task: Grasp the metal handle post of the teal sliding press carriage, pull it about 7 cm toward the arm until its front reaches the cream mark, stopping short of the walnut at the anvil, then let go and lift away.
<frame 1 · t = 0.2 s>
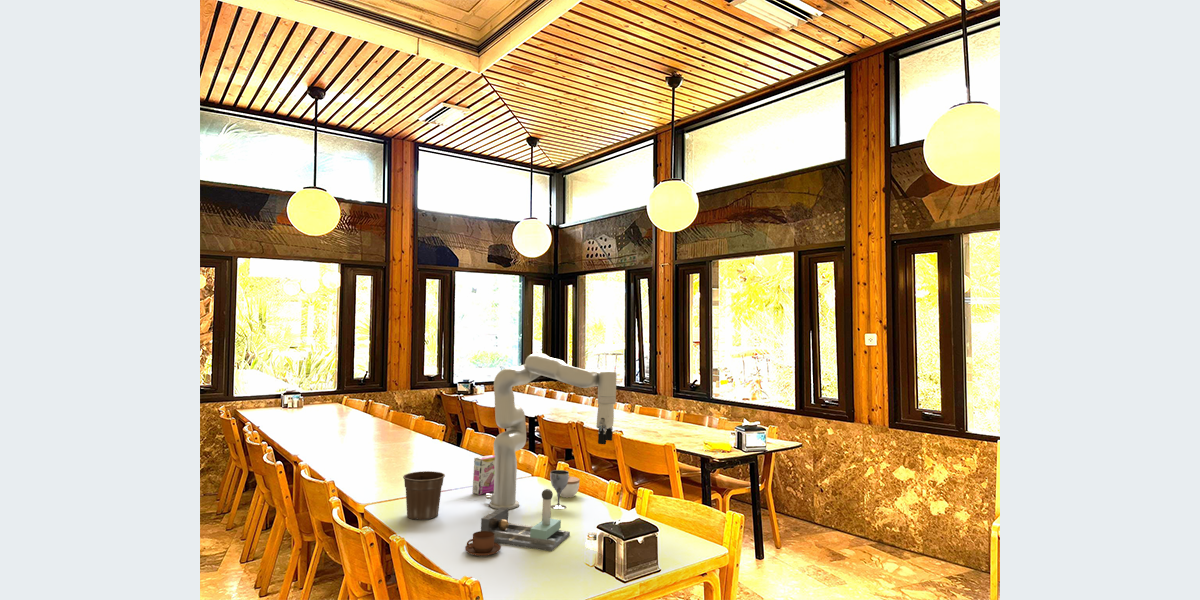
hand: (605, 442, 256), 31 cm above the table, tool pointing down, fingers open, 9 cm apart
candy bar box: (484, 492, 289), on the table
press carriage: (546, 510, 226), point 11 cm above the table, slide at 0.0 cm
press base: (525, 538, 227), on the table
plant pot: (422, 516, 250), on the table
wine glass: (558, 507, 269), on the table
lidded jar: (567, 496, 288), on the table
cup and saucer: (482, 553, 211), on the table
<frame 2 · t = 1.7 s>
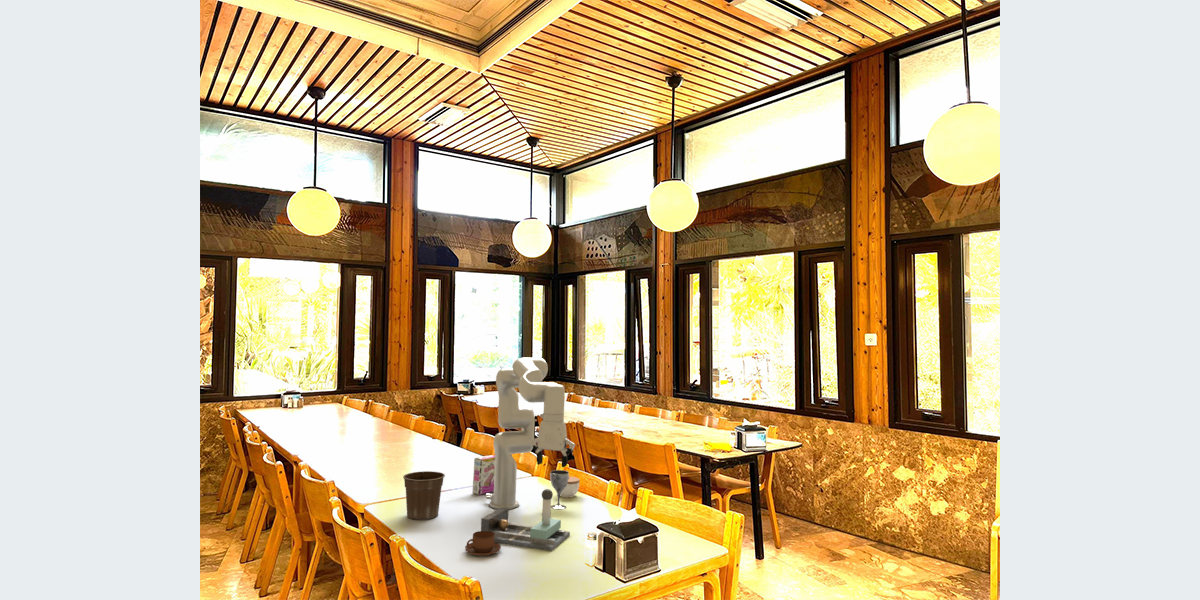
hand: (551, 465, 228), 27 cm above the table, tool pointing down, fingers open, 9 cm apart
nothing on the table moved.
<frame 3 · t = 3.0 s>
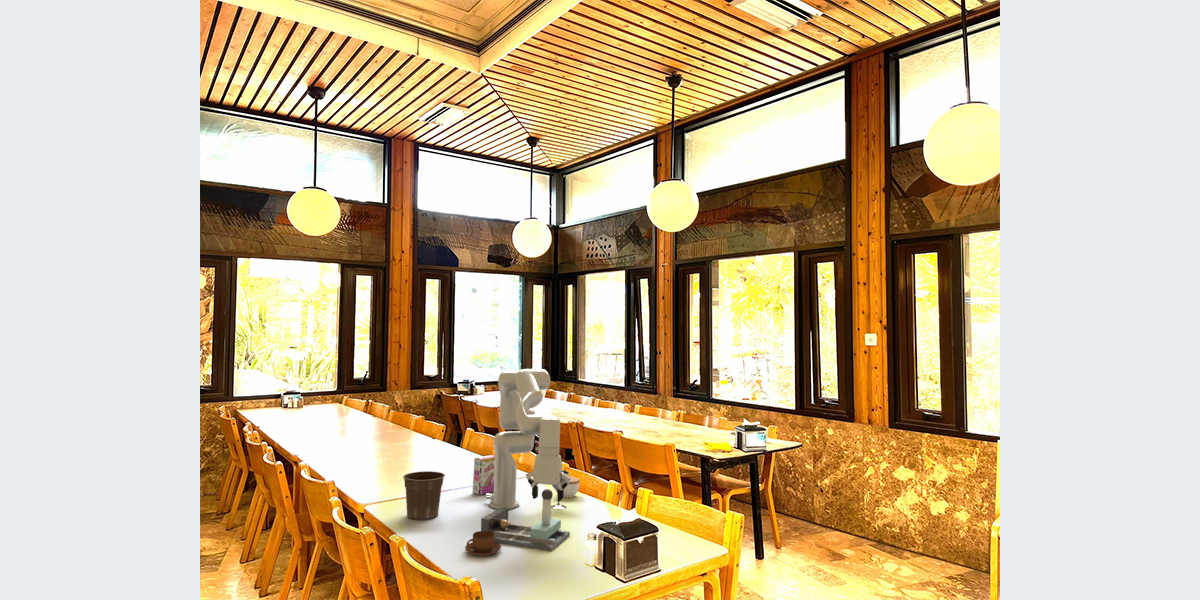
hand: (547, 499, 225), 15 cm above the table, tool pointing down, fingers open, 9 cm apart
nothing on the table moved.
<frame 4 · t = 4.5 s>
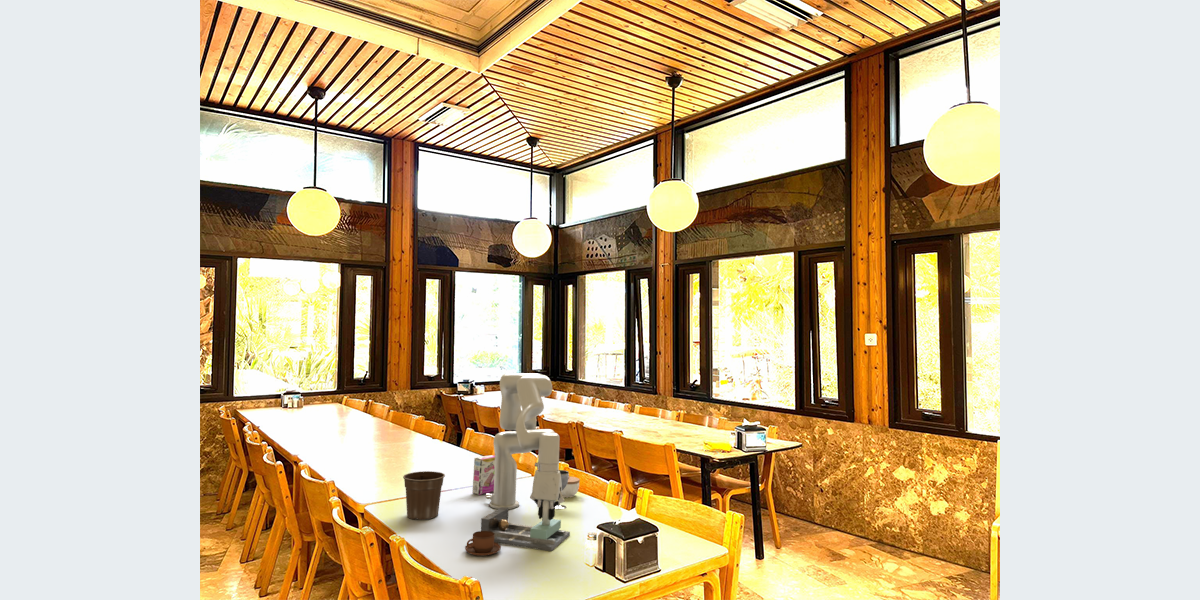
hand: (546, 518, 225), 8 cm above the table, tool pointing down, fingers closed on press carriage, 3 cm apart
press carriage: (546, 510, 226), point 11 cm above the table, slide at 0.0 cm, touching gripper
everything else where it was.
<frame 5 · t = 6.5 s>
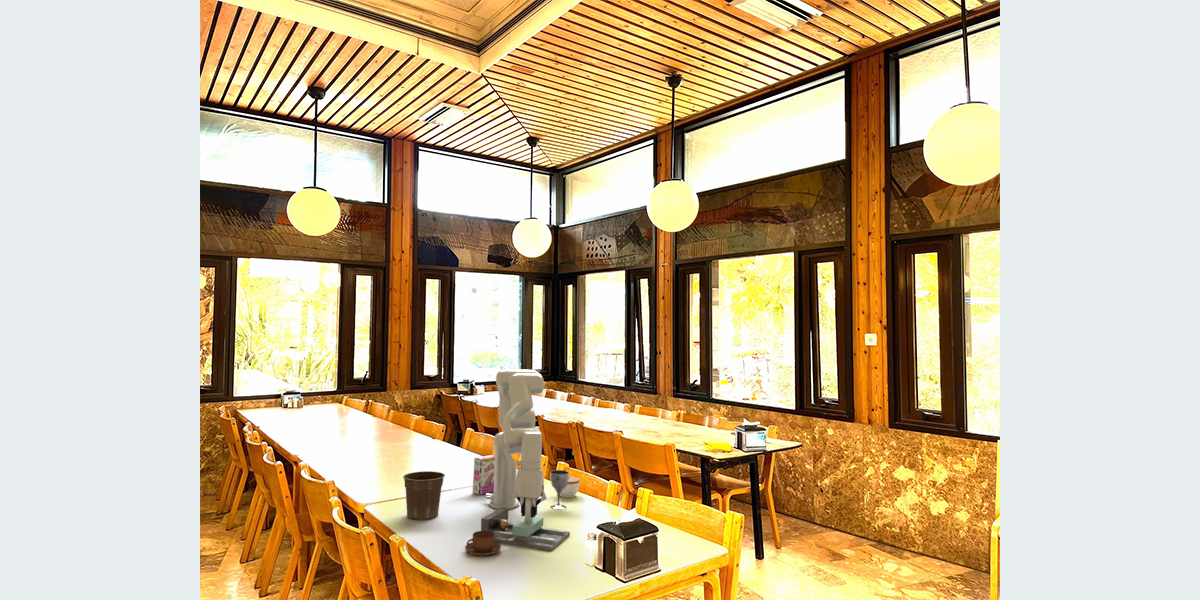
hand: (528, 515, 228), 8 cm above the table, tool pointing down, fingers closed on press carriage, 3 cm apart
press carriage: (529, 508, 228), point 11 cm above the table, slide at 6.9 cm, touching gripper
everything else where it was.
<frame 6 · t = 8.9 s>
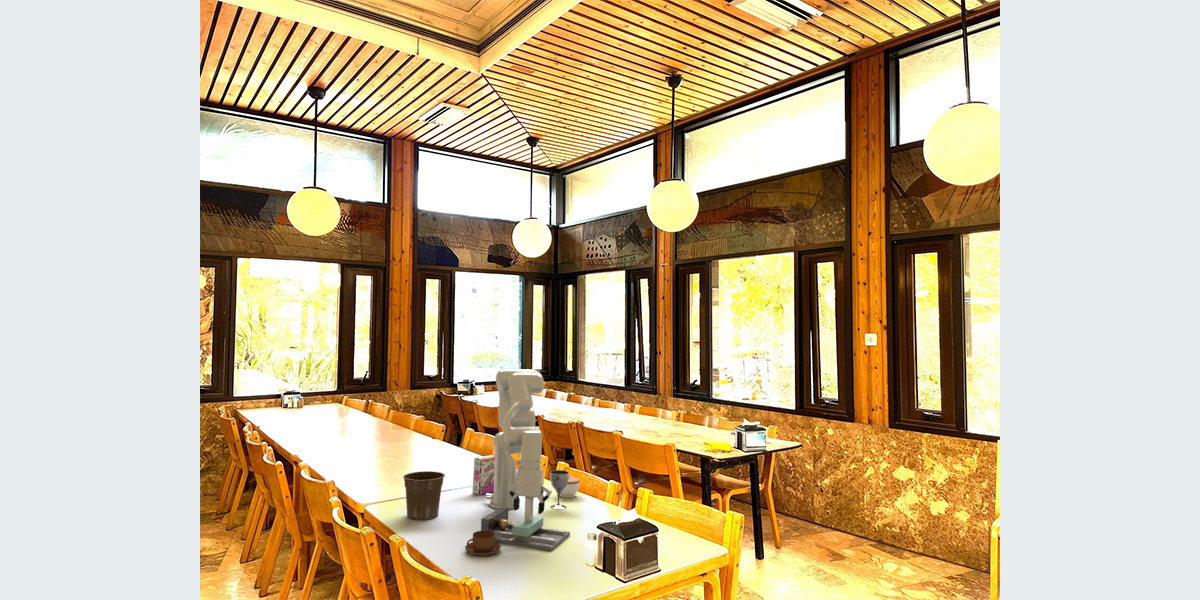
hand: (528, 511, 228), 10 cm above the table, tool pointing down, fingers open, 9 cm apart
press carriage: (529, 508, 228), point 11 cm above the table, slide at 7.0 cm
everything else where it was.
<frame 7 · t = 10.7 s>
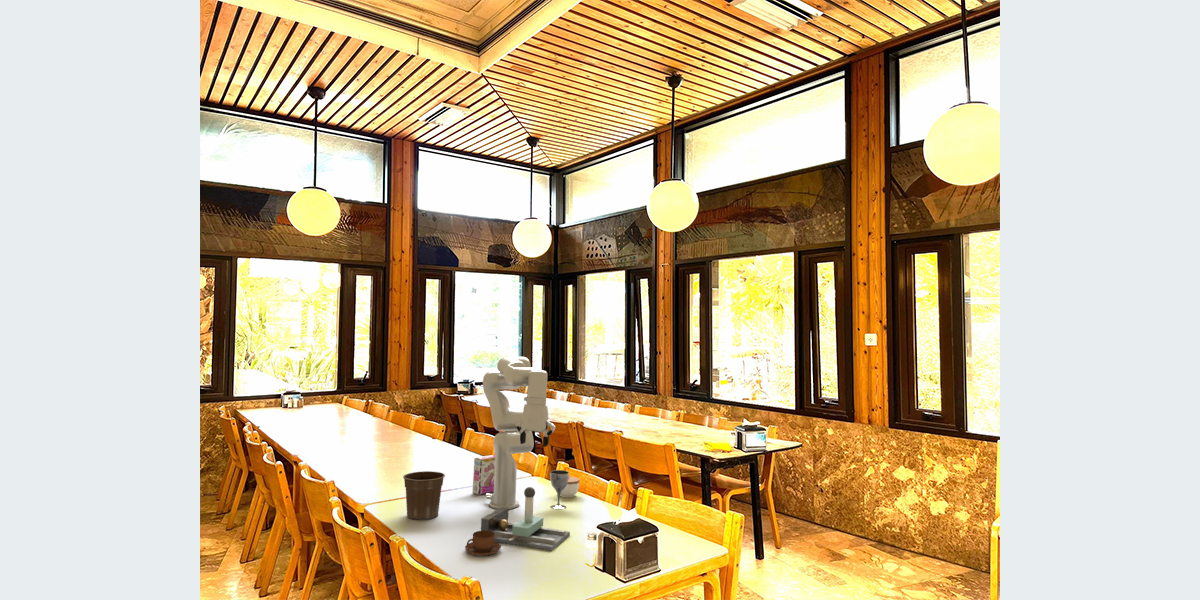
hand: (534, 444, 245), 31 cm above the table, tool pointing down, fingers open, 9 cm apart
nothing on the table moved.
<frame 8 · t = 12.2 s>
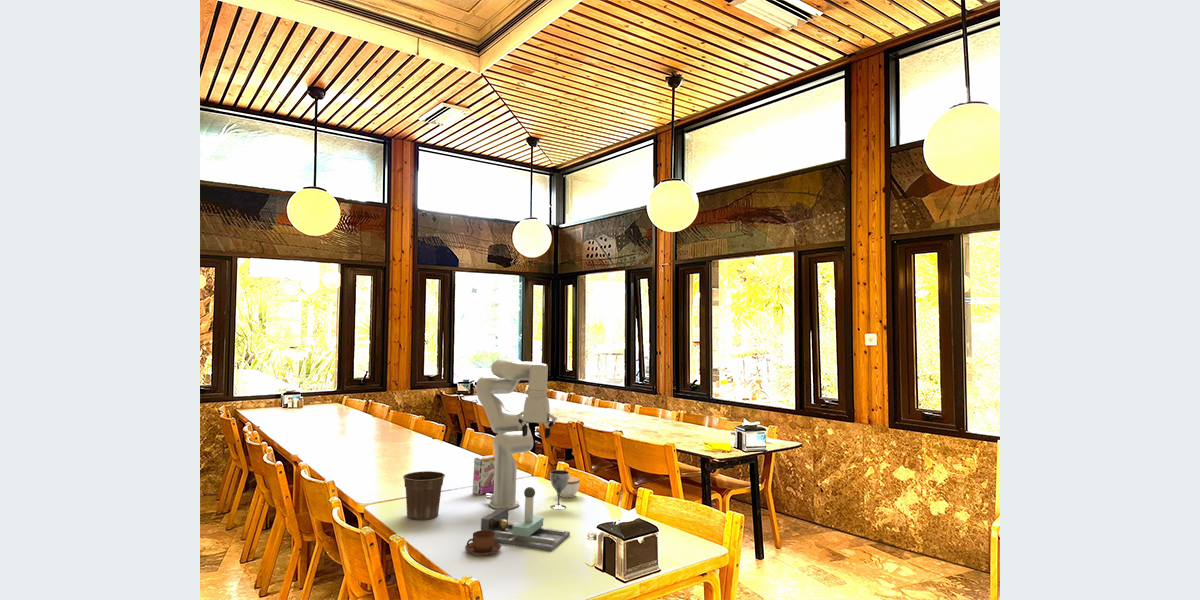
hand: (535, 436, 250), 33 cm above the table, tool pointing down, fingers open, 9 cm apart
nothing on the table moved.
at the end: press carriage slide at 7.0 cm; the gripper is holding nothing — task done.
